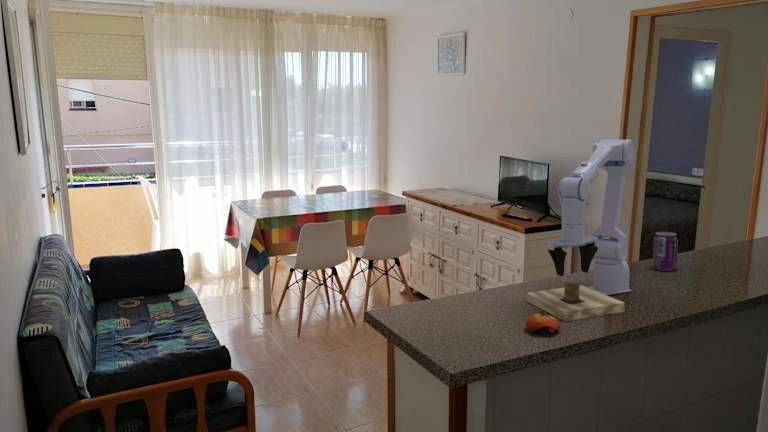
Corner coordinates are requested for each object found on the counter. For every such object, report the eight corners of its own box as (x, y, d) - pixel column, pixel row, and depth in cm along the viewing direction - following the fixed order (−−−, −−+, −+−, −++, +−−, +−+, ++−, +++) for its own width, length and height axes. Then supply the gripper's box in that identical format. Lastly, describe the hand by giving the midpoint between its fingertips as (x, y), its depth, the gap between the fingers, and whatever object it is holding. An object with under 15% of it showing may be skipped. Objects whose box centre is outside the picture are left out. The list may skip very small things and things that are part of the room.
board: (581, 293, 167) (581, 285, 167) (624, 311, 150) (624, 302, 150) (526, 301, 162) (526, 292, 161) (565, 321, 145) (565, 311, 144)
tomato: (570, 326, 137) (552, 307, 135) (555, 350, 135) (536, 331, 133) (548, 321, 144) (530, 303, 142) (533, 344, 142) (515, 326, 140)
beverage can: (680, 271, 186) (682, 235, 184) (658, 272, 186) (660, 236, 184) (670, 266, 193) (671, 231, 191) (648, 266, 193) (650, 231, 191)
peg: (573, 306, 156) (573, 281, 155) (582, 310, 152) (582, 285, 151) (560, 308, 155) (561, 283, 154) (569, 312, 151) (569, 287, 150)
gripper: (586, 218, 156) (586, 267, 158) (540, 223, 151) (540, 273, 154) (604, 222, 149) (603, 273, 151) (556, 227, 145) (555, 279, 147)
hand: (572, 273), depth 152 cm, fingers open, 7 cm apart
